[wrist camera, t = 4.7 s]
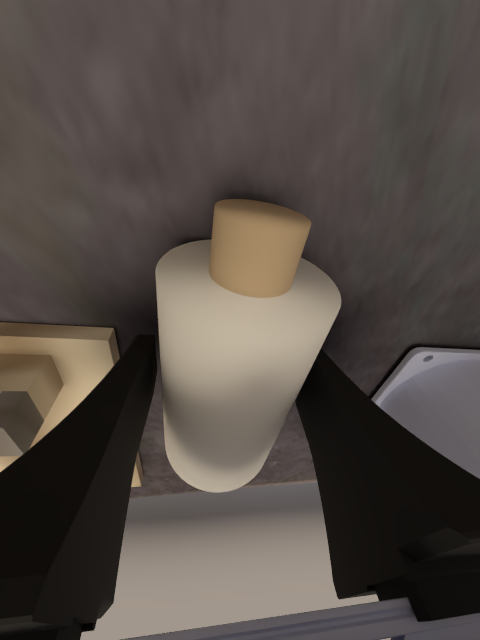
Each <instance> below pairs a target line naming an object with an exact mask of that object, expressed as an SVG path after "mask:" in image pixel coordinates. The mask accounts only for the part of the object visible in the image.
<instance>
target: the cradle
mask: <svg viewBox="0 0 480 640" xmlns="http://www.w3.org/2000/svg"><path fill="white" fill-rule="evenodd" d="M119 359H120V356H119V351H118V346H117V341H116V336H115V331H114V328H104V327H84V326H65V325H46V324H27V323H8V322H0V472H1V471H2V470H4V469H5V468H6V467H7V466H9V465H10V464H11V463H13V462H14V461H15V460H16V459H18V458H19V457H20V456H21V455H23V454H24V453H25V452H26V451H28V450H29V449H30V448H31V447H32V446H34V445H35V444H36V443H37V442H38V441H39V440H41V439H42V438H43V437H44V436H45V435H46V434H47V433H49V432H50V431H51V430H52V429H53V428H54V427H55V426H57V425H58V424H59V423H60V422H61V421H62V420H63V419H64V418H65V417H66V416H67V415H68V414H69V413H70V412H71V411H73V410H74V409H75V408H76V407H77V406H78V405H79V404H80V403H81V402H82V401H83V400H84V399H85V398H86V396H87V395H88V394H89V393H90V392H91V391H92V390H93V389H94V388H95V387H96V386H97V385H98V383H99V382H100V381H101V380H102V379H103V378H104V377H105V376H106V374H107V373H108V372H109V371H110V370H111V368H112V367H113V366H114V365H115V364H116V362H117V361H118V360H119ZM142 478H143V472H142V467H141V462H140V457H139V452H138V453H137V457H136V462H135V468H134V474H133V479H132V485H131V487H137V486H141V484H142Z"/></svg>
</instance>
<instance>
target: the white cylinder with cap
mask: <svg viewBox="0 0 480 640" xmlns="http://www.w3.org/2000/svg"><path fill="white" fill-rule="evenodd" d="M310 227H311V221H310V220H309V219H308V218H307V217H305V216H304V215H302V214H300V213H298V212H296V211H294V210H291V209H289V208H286V207H283V206H279V205H275V204H271V203H267V202H262V201H256V200H247V199H226V200H221V201H218V202H217V203H216V204H215V206H214V217H213V228H212V239H209V240H200V241H194V242H189V243H186V244H183V245H180V246H178V247H175V248H173V249H172V250H170V251H168V252H167V253H166V254H164V255H163V256H162V258H161V259H160V260H159V262H158V264H157V266H156V271H155V274H156V292H157V310H158V327H159V345H160V363H161V381H162V399H163V417H164V435H165V448H166V453H167V457H168V459H169V462H170V464H171V466H172V467H173V469H174V470H175V472H176V473H177V474H178V475H179V476H180V477H181V478H182V479H183V480H184V481H185V482H187V483H188V484H189V485H191V486H193V487H195V488H198V489H200V490H203V491H208V492H226V491H231V490H234V489H237V488H239V487H241V486H243V485H245V484H246V483H248V482H249V481H250V480H252V479H253V478H254V477H255V476H256V475H257V473H258V472H259V471H260V469H261V468H262V466H263V464H264V462H265V460H266V458H267V456H268V454H269V452H270V450H271V448H272V446H273V444H274V442H275V440H276V438H277V436H278V434H279V432H280V430H281V428H282V426H283V424H284V422H285V420H286V418H287V416H288V414H289V412H290V410H291V408H292V406H293V404H294V402H295V400H296V398H297V396H298V394H299V391H300V389H301V387H302V385H303V383H304V381H305V379H306V377H307V375H308V373H309V371H310V369H311V367H312V365H313V363H314V361H315V359H316V357H317V355H318V353H319V351H320V349H321V347H322V345H323V343H324V341H325V339H326V337H327V335H328V333H329V331H330V329H331V327H332V325H333V323H334V321H335V319H336V317H337V315H338V312H339V310H340V307H341V296H340V292H339V290H338V288H337V286H336V285H335V283H334V282H333V281H332V280H331V278H330V277H329V276H328V275H327V274H326V273H324V272H323V271H322V270H321V269H319V268H318V267H317V266H315V265H314V264H312V263H310V262H309V261H307V260H305V259H303V258H301V255H302V252H303V249H304V246H305V243H306V240H307V236H308V233H309V230H310Z"/></svg>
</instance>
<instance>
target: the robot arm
mask: <svg viewBox="0 0 480 640" xmlns="http://www.w3.org/2000/svg"><path fill="white" fill-rule="evenodd" d="M156 374H157V360H156V345H155V335H141V334H139V335H137V336H136V337H135V338H134V340H133V341H132V343H131V344H130V346H129V347H128V348H127V350H126V351H125V352H124V354H123V355H122V356H121V357H120V359H119V360H118V361H117V362H116V364H115V365H114V366H113V367H112V368H111V370H110V371H109V372H108V373H107V374H106V376H105V377H104V378H103V379H102V380H101V381H100V382H99V383H98V385H97V386H96V387H95V388H94V389H93V390H92V391H91V392H90V393H89V394H88V395H87V396H86V398H85V399H84V400H83V401H82V402H81V403H80V404H79V405H78V406H77V407H76V408H75V409H74V410H73V411H71V412H70V413H69V414H68V415H67V416H66V417H65V418H64V419H63V420H62V421H61V422H60V423H59V424H58V425H57V426H55V427H54V428H53V429H52V430H51V431H50V432H49V433H47V434H46V435H45V436H44V437H43V438H42V439H41V440H39V441H38V442H37V443H36V444H35V445H34V446H32V447H31V448H30V449H29V450H28V451H26V452H25V453H24V454H23V455H21V456H20V457H19V458H18V459H16V460H15V461H14V462H13V463H11V464H10V465H9V466H7V467H6V468H5V469H4V470H2V471H1V472H0V640H80V637H81V633H82V632H85V631H92V630H94V629H95V625H96V621H97V619H99V618H101V617H102V616H103V615H104V614H105V612H106V611H107V610H108V609H109V608H110V606H111V605H112V604H113V601H114V594H115V587H116V579H117V572H118V566H119V559H120V552H121V546H122V540H123V533H124V527H125V521H126V514H127V508H128V502H129V497H130V491H131V485H132V479H133V474H134V468H135V462H136V457H137V453H138V449H139V445H140V441H141V438H142V434H143V430H144V427H145V423H146V419H147V416H148V412H149V408H150V405H151V401H152V397H153V393H154V387H155V381H156ZM295 402H296V406H297V409H298V412H299V415H300V418H301V421H302V424H303V427H304V431H305V434H306V437H307V440H308V443H309V446H310V450H311V454H312V458H313V463H314V467H315V472H316V476H317V481H318V486H319V491H320V496H321V502H322V507H323V513H324V519H325V525H326V531H327V538H328V545H329V553H330V560H331V567H332V576H333V582H334V586H335V590H336V593H337V597H338V599H345V598H351V597H358V596H366V595H373V594H377V596H378V599H379V601H378V602H372V603H365V604H358V605H351V606H344V607H338V608H331V609H324V610H317V611H310V612H304V613H297V614H290V615H284V616H277V617H270V618H263V619H256V620H250V621H243V622H236V623H229V624H223V625H216V626H209V627H202V628H196V629H189V630H182V631H175V632H169V633H162V634H155V635H148V636H142V637H135V638H128V639H121V640H380V639H386V638H391V637H392V638H391V640H480V350H468V349H448V348H428V347H417V348H414V349H412V350H411V351H410V352H409V353H408V354H407V355H406V356H405V358H404V359H403V360H402V361H401V363H400V364H399V365H398V366H397V367H396V369H395V370H394V371H393V372H392V374H391V375H390V376H389V377H388V379H387V380H386V381H385V382H384V384H383V385H382V386H381V387H380V389H379V390H378V391H377V392H376V394H375V395H374V396H373V397H372V399H370V398H369V397H368V396H367V395H366V394H365V393H364V392H363V391H361V390H360V389H359V388H358V387H357V386H356V385H355V384H354V383H353V382H352V381H351V380H350V379H349V378H348V377H347V376H346V375H345V374H344V373H343V372H342V370H341V369H340V368H339V367H338V366H337V365H336V364H335V363H334V362H333V361H332V360H331V359H330V358H329V357H328V356H327V355H326V354H325V353H324V351H323V350H322V349H320V351H319V353H318V355H317V357H316V359H315V361H314V363H313V365H312V367H311V369H310V371H309V373H308V375H307V377H306V379H305V381H304V383H303V385H302V387H301V389H300V391H299V394H298V396H297V398H296V400H295Z"/></svg>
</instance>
